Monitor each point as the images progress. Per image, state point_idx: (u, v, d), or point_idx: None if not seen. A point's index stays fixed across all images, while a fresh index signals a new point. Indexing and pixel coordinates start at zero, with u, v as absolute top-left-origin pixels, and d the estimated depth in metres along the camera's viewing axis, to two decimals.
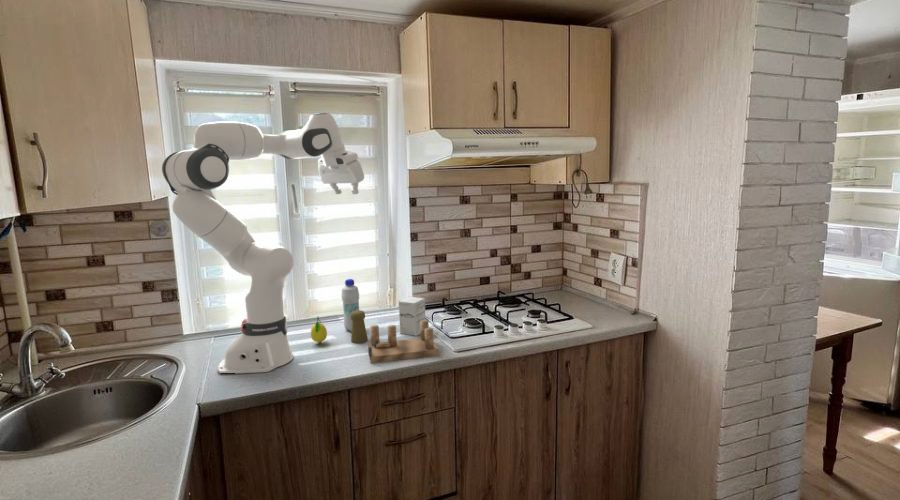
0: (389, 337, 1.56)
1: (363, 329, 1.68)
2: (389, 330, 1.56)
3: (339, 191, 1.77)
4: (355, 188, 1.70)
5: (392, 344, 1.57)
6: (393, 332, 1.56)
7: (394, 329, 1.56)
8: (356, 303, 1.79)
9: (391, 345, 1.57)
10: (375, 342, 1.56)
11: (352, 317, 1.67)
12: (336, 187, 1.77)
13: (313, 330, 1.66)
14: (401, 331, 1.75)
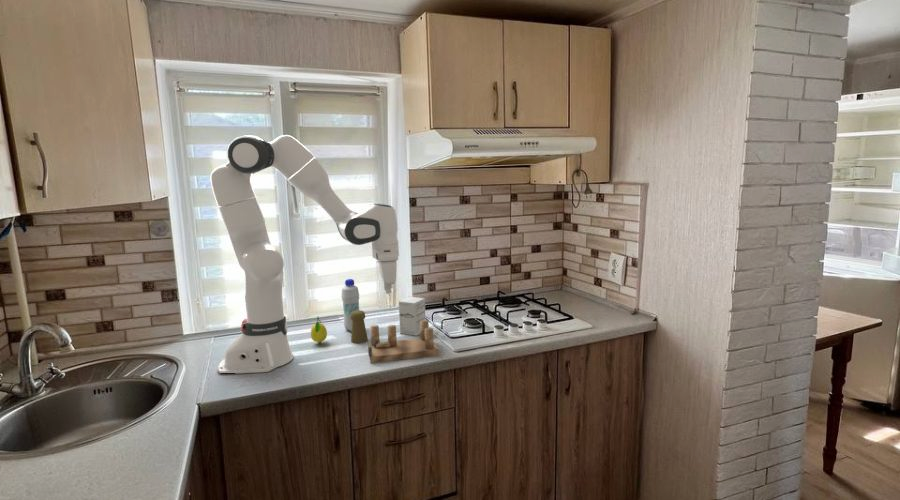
0: (389, 337, 1.56)
1: (363, 329, 1.68)
2: (389, 330, 1.56)
3: None
4: (387, 287, 1.58)
5: (392, 344, 1.57)
6: (393, 332, 1.56)
7: (394, 329, 1.56)
8: (356, 303, 1.79)
9: (391, 345, 1.57)
10: (375, 342, 1.56)
11: (352, 317, 1.67)
12: None
13: (313, 330, 1.66)
14: (401, 331, 1.75)
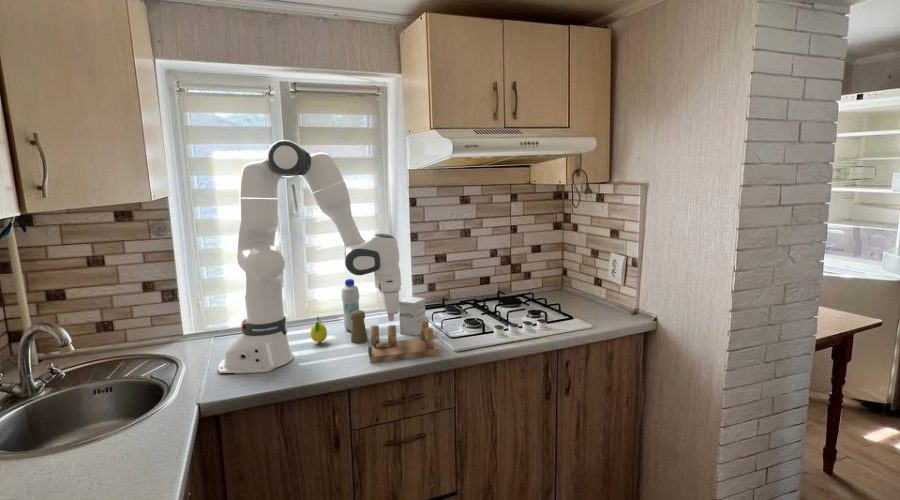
0: (389, 337, 1.56)
1: (363, 329, 1.68)
2: (389, 330, 1.56)
3: None
4: (390, 315, 1.61)
5: (392, 344, 1.57)
6: (393, 332, 1.56)
7: (394, 329, 1.56)
8: (356, 303, 1.79)
9: (391, 345, 1.57)
10: (375, 342, 1.56)
11: (352, 317, 1.67)
12: None
13: (313, 330, 1.66)
14: (401, 331, 1.75)
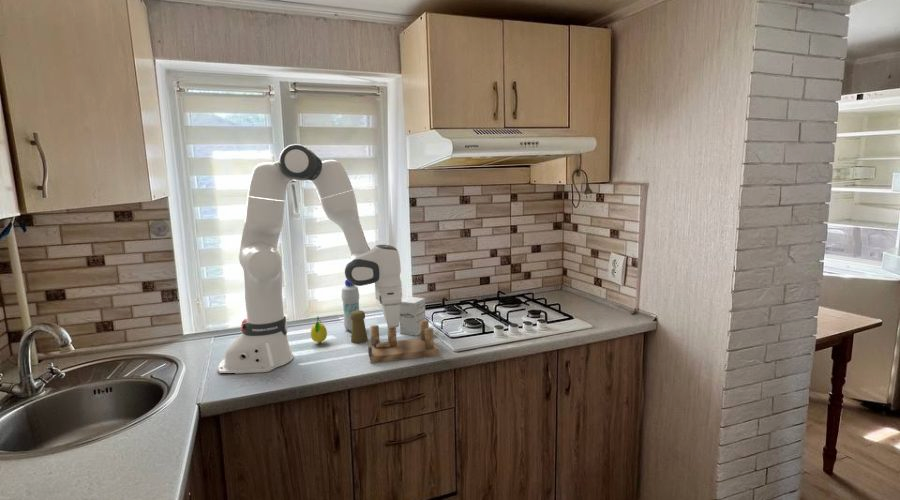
0: (389, 337, 1.56)
1: (363, 329, 1.68)
2: (389, 330, 1.56)
3: None
4: None
5: (392, 344, 1.57)
6: (393, 332, 1.56)
7: (394, 329, 1.56)
8: (356, 303, 1.79)
9: (391, 345, 1.57)
10: (375, 342, 1.56)
11: (352, 317, 1.67)
12: None
13: (313, 330, 1.66)
14: (401, 331, 1.75)
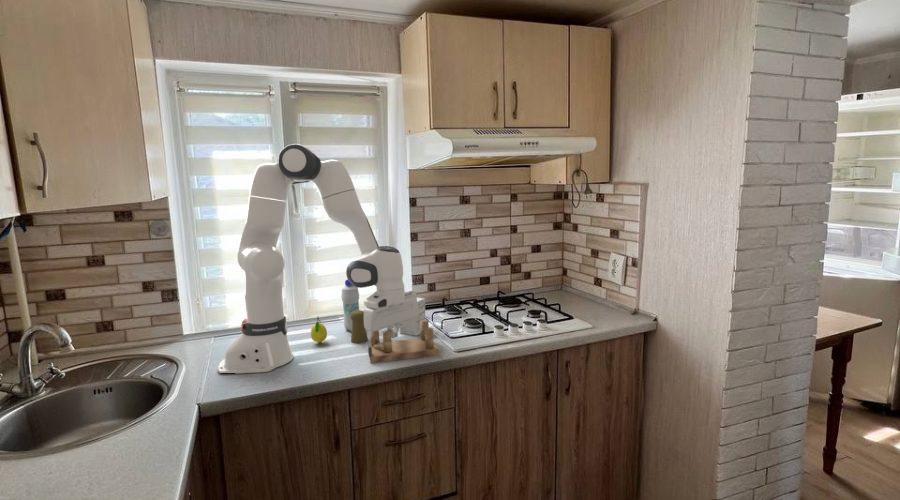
0: (383, 341, 1.53)
1: (363, 329, 1.68)
2: (382, 334, 1.52)
3: None
4: None
5: (384, 349, 1.52)
6: (384, 337, 1.51)
7: (386, 335, 1.51)
8: (356, 303, 1.79)
9: (383, 350, 1.53)
10: (374, 342, 1.56)
11: (352, 317, 1.67)
12: (395, 329, 1.55)
13: (313, 330, 1.66)
14: (401, 331, 1.75)
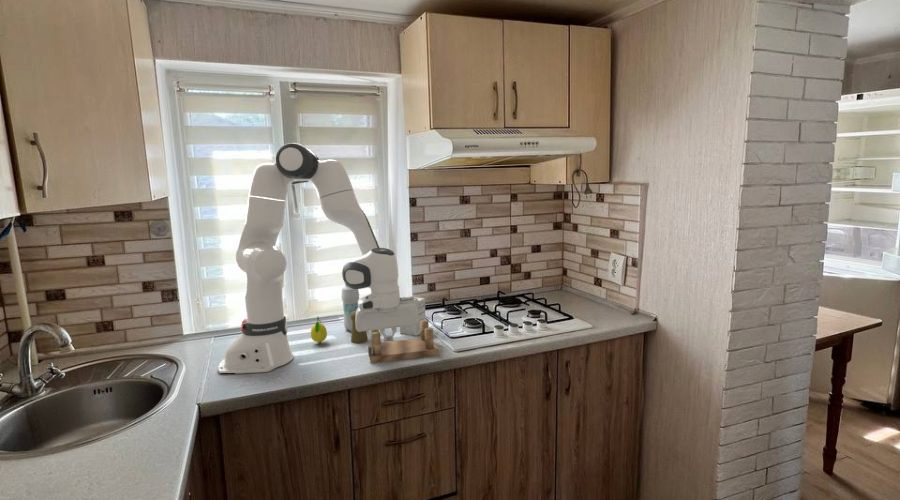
0: None
1: None
2: None
3: None
4: None
5: (372, 351, 1.51)
6: None
7: (372, 337, 1.50)
8: (356, 303, 1.79)
9: None
10: None
11: (352, 317, 1.67)
12: (391, 333, 1.51)
13: (313, 330, 1.66)
14: (401, 331, 1.75)
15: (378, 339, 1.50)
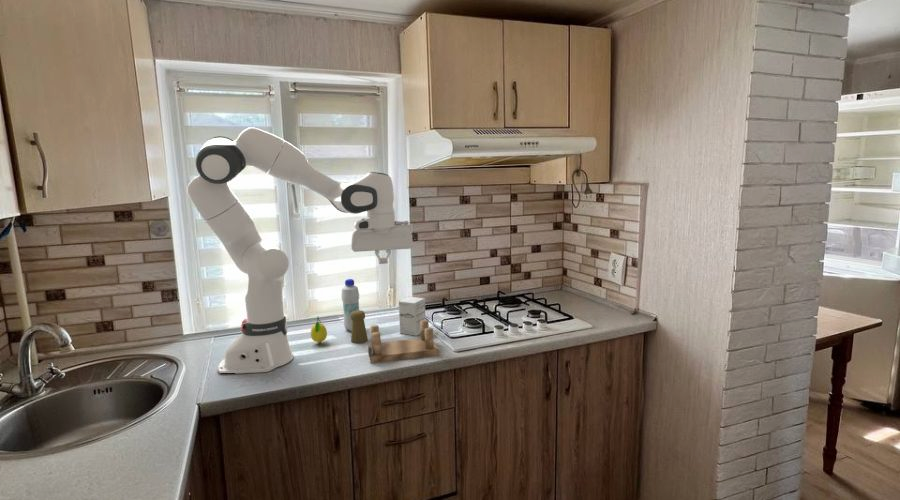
0: None
1: (363, 329, 1.68)
2: None
3: None
4: None
5: (372, 351, 1.51)
6: None
7: (372, 337, 1.50)
8: (356, 303, 1.79)
9: None
10: None
11: (352, 317, 1.67)
12: (386, 256, 1.57)
13: (313, 330, 1.66)
14: (401, 331, 1.75)
15: (378, 339, 1.50)
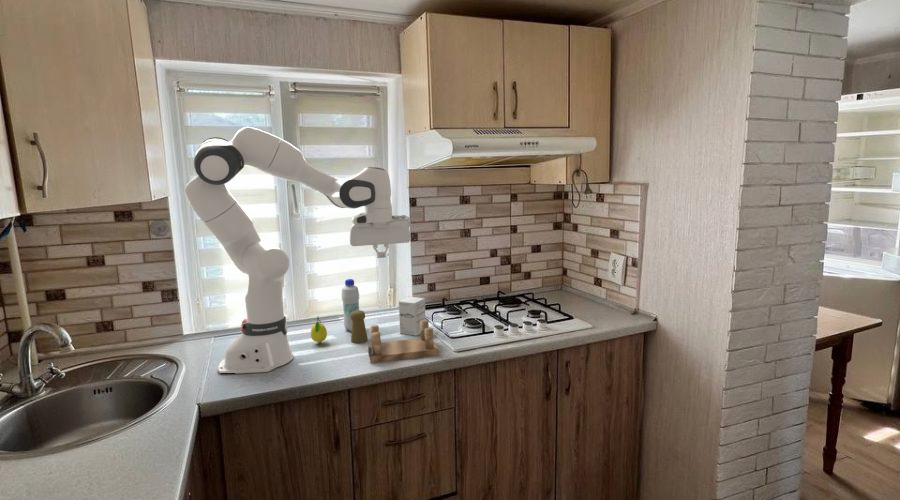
0: None
1: (363, 329, 1.68)
2: None
3: (381, 254, 1.59)
4: None
5: (372, 351, 1.51)
6: None
7: (372, 337, 1.50)
8: (356, 303, 1.79)
9: None
10: None
11: (352, 317, 1.67)
12: (384, 250, 1.59)
13: (313, 330, 1.66)
14: (401, 331, 1.75)
15: (378, 339, 1.50)
